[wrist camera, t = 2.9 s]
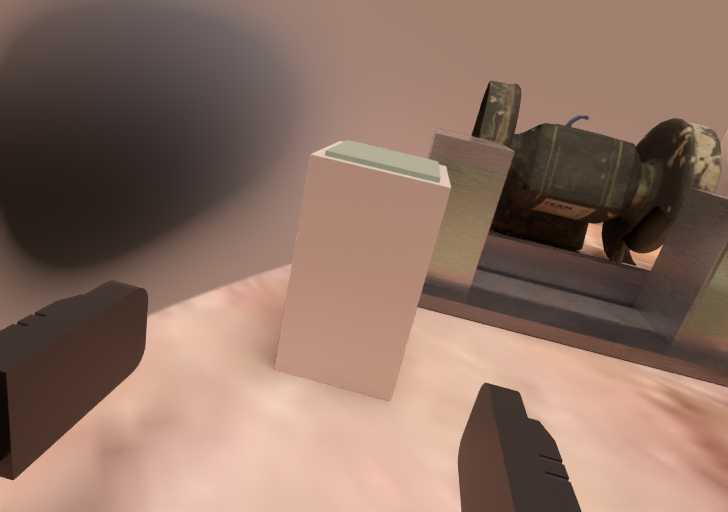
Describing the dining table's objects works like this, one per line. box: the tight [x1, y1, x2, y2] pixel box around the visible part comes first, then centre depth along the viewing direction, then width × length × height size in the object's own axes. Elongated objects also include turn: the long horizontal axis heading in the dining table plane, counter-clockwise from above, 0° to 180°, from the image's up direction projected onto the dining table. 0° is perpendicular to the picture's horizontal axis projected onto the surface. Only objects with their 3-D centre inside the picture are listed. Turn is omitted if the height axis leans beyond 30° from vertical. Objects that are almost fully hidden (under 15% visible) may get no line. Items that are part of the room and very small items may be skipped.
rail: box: [418, 128, 728, 386], centre depth 32 cm, size 26×9×11 cm, turn 82°
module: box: [274, 140, 451, 401], centre depth 22 cm, size 6×6×10 cm
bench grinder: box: [472, 81, 722, 266], centre depth 49 cm, size 20×22×20 cm
